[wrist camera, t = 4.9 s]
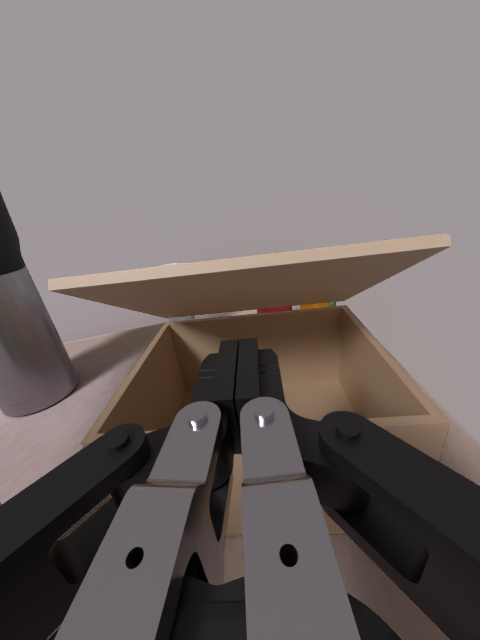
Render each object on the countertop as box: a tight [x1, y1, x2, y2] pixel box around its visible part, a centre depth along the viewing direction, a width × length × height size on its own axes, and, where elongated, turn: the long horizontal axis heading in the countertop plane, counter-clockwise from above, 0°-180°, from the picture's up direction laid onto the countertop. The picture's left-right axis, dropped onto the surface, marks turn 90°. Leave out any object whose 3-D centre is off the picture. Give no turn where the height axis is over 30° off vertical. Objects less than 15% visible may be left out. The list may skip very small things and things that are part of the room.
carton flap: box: [48, 233, 451, 318], centre depth 20 cm, size 16×19×1 cm
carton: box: [81, 305, 450, 536], centre depth 23 cm, size 16×20×10 cm
